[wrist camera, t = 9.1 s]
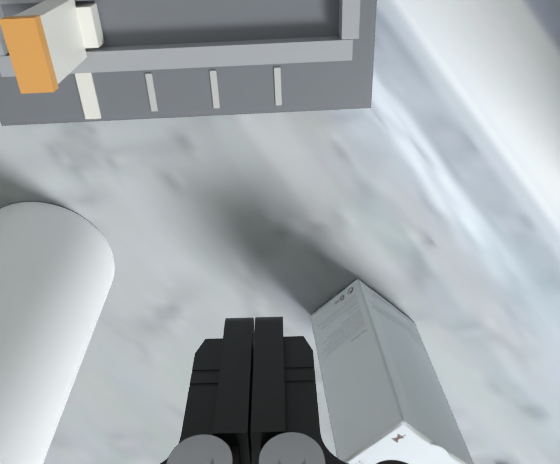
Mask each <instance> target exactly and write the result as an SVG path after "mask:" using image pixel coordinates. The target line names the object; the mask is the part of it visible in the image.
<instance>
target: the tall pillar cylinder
mask: <svg viewBox="0 0 560 464" xmlns="http://www.w3.org/2000/svg"><path fill="white" fill-rule="evenodd" d="M114 271H115V264H114V258H113V254H112V251H111V249H110V247H109V245H108V243H107V241H106V240H105V238H104V237H103V235H102V234H101V233H100V232H99V231H98V230H97V229H96V228H95V227H94V226H93V225H92V224H91V223H90V222H88V221H87V220H86V219H84V218H83V217H81V216H80V215H78V214H76V213H74V212H72V211H70V210H68V209H65V208H63V207H60V206H57V205H53V204H48V203H42V202H21V203H15V204H11V205H8V206H5V207H3V208H1V209H0V464H43V462H44V459H45V457H46V454H47V452H48V449H49V446H50V444H51V441H52V438H53V436H54V433H55V431H56V428H57V425H58V423H59V420H60V418H61V415H62V412H63V410H64V407H65V404H66V402H67V399H68V397H69V394H70V391H71V389H72V386H73V384H74V381H75V378H76V376H77V373H78V370H79V368H80V365H81V363H82V360H83V357H84V355H85V352H86V349H87V347H88V344H89V342H90V339H91V336H92V334H93V331H94V329H95V326H96V323H97V321H98V318H99V315H100V313H101V310H102V308H103V305H104V302H105V300H106V297H107V294H108V292H109V289H110V287H111V284H112V281H113V278H114Z"/></svg>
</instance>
